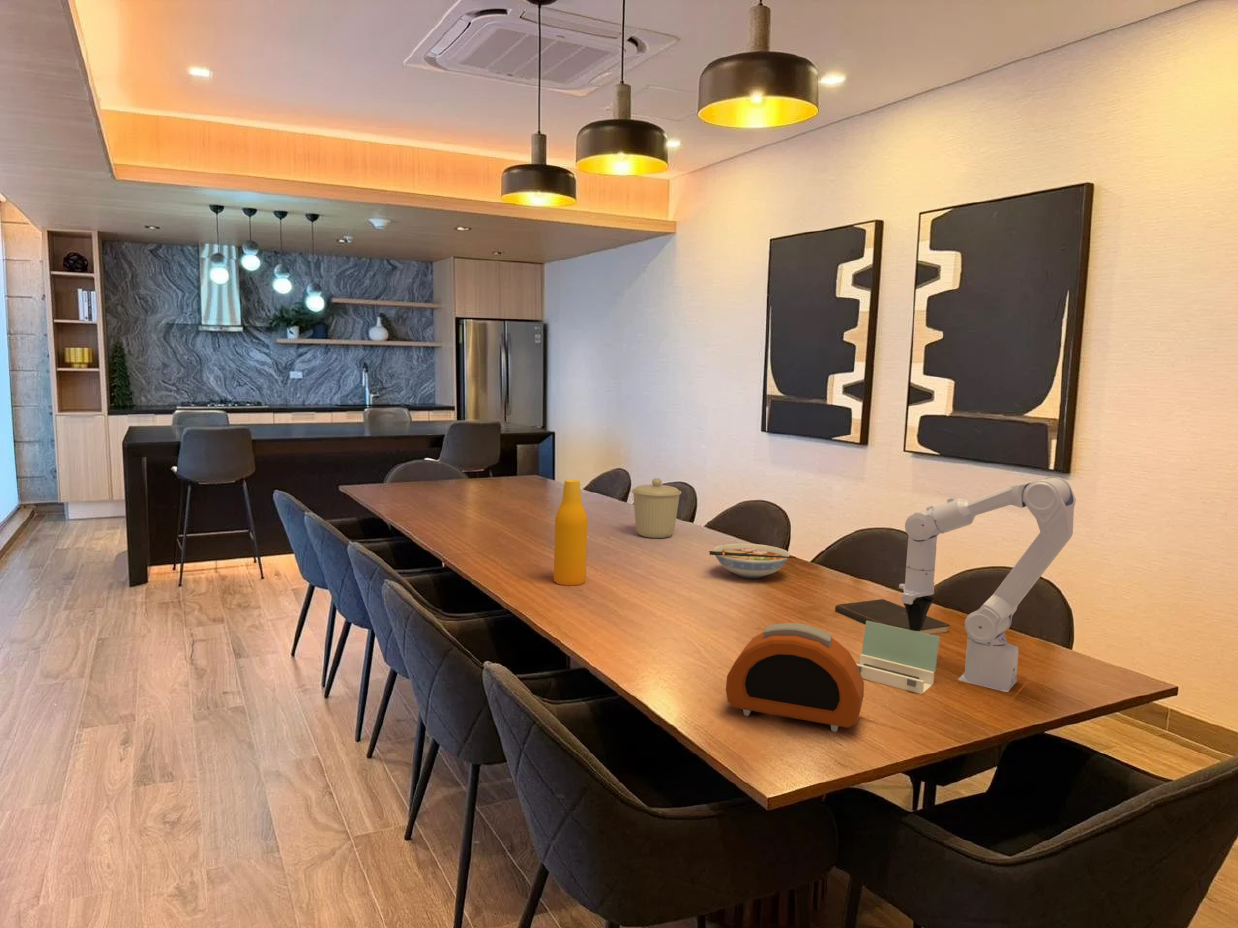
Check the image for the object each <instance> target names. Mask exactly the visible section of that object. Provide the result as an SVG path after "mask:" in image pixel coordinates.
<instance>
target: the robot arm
mask: <svg viewBox="0 0 1238 928" xmlns="http://www.w3.org/2000/svg"><path fill="white" fill-rule="evenodd" d="M946 501H947V502H944V503H942V504H939V505H936V506H933V505H930V506H927V507H925V509H926V510H923V511H918V512H917V511H916V512H914V513H913V514H911V515H909V516H908V517H907V519H906V520H905V521H904V522H905V523H904V530H905V533H906V534H907V535H908V539H907V548H906V549H907V550H906V551H907V552H906V562H905V563H906V564H905V565H906V566H905V580H904V581H905V582H904V583H899V585H898V589H902V590H903V593H902V594H901V595H902V596H901V603H902V604H903V605H904V606H903V607H905V608H906V611H907V615H908V621H909V627H910V630H915V631H921V630H922V627H923V624H924V621H925V618H926V616H928V612H929V610H930V608H931V606H932V604H933V603H934V601H935V597H933V595H934V594H935V573H936V572H935V571H936V558H937V557H936V556H937V543H938V542H937V540H938V537H939V535H940V534H945V533H949V532H952V531H954V530H958V529H961V528H964V527H966V526H969V525H972V523H973V522H974V520H975V517H976V516H979V515H982V514H985V513H989V512H992V511H995V510H997V509H1000V508H1004V507H1007V506H1014V507H1018V508H1020V509H1023V508H1026V507H1027V509H1028V510H1029V512H1030V513H1031V514H1032V515H1033V517H1034V518H1035V520H1036V523H1037V526H1038V529H1039V533H1038V535H1037V536H1036V537H1035V539H1034V540H1033V542H1031V544H1030V545H1029V546H1028V548H1027V549H1026V551H1025V552H1024V553H1023V555H1022V556H1021V557H1020V559H1018V561H1017V562H1016V563H1015V564H1014V566H1013V567H1012V568H1011V570H1010V571H1009V573H1008V574H1007V575H1006V576H1005V578H1004V579H1003V580H1002V582H1001V584H1000V585H999V586H998V587H997V588H996V590H995V591H994V593H992V595H991V596H989V598H987V600H986V601H985V602H984V603H982V605H981V606H980V608H978V609H977V610H975V611H973V612H971V613H969V614H968V615H967V616H966V617H965V621H964V629H965V632H966V634H967V637H966V639H967V641H966V652H965V664H964V665H965V666H964V673H963V674H962V675H960V677H958V678H957V680H958V681H960V682H964V683H968V684H973V685H976V686H981V687H984V688H988V689H992V690H995V691H1000V692H1004V693H1008V692H1009V691H1010V690H1011V689H1012V687H1014V685H1015V684H1016V683H1017V682H1018V681H1017V677H1018V676H1017V675H1018V667H1019V666H1018V665H1019V653H1020V651H1019V647H1018V646H1017V645H1015V644H1011V643H1009V642H1008V641H1007V640H1008V639H1007V636H1006V634H1005V632H1006V631H1007V630H1009V629H1010V627H1011V625H1012V618H1013V615H1014V614H1015V613H1016V611H1017V609H1018V606H1019V604H1020V603H1021V602H1022V600H1023V599H1024V598H1025V597H1026V595H1027V594H1028V593H1029V592H1030V590H1031V589H1032V588H1033V587H1034V585H1035V584H1036V583H1037V582H1038V580H1039V579H1040V577H1042V575H1043V574H1045V571H1046V570H1047V569H1048V568H1049V566H1050V565H1051V564H1052V563H1053V561H1054V560H1055V559H1056V557H1057V556H1058V555H1059V554H1060V552H1061V551H1062V549H1064V547H1065V546H1066V545H1067V543H1068V542H1069V541H1070V540H1071V539H1072V536H1073V534H1074V533H1073V532H1074V512H1075V505H1076V501H1077V500H1076V497H1075V494H1074V492H1073V489H1072V487H1071V485H1070V483H1069V482H1068V481H1067V480H1065V479H1064V478H1062V477H1059V476H1048V477H1045V478H1043V479H1042V480H1041V479H1040V480H1039V479H1037V480H1030V481H1026V482H1021V483H1017V484H1013V485H1010V486H1007V487H1004V488H1002V489H1000V490H996V491H993V492H991V493H989V494H986V495H983V496H981V497H978V498H975V499H973V500H970V501H969V500H967V499H965V498H962V497H959V498H956V497H955V496H953V497H949V498H947V499H946Z"/></svg>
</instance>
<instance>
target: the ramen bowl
mask: <svg viewBox="0 0 1238 928" xmlns="http://www.w3.org/2000/svg"><path fill="white" fill-rule="evenodd" d="M708 553H709V556H715V557H716V559H717V561H718V562H719V564H720V565H721V566H722V567H723V568H725V570H727V571H729V572H732V573H733V574H736V575H737V576H739V577H740V578H744V579H760V578H762V577H766V576H768V575H771V574H774V573H776V572H778V571H780V569H781V568H782V567H784V565H785V564H786V562H787V560H788V559H797V557H795V556H790V554H791V553H790V552H788V551H787V550H786V549H783V548H780V547H776V546H773V545H772V546H771V545H765V544H760V543H759V544H757V543H743V542H742V543H739V542H735V543H724V544H719V545H717V546H715V547H713V548H712V550H710V551H708Z"/></svg>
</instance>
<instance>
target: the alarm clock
mask: <svg viewBox="0 0 1238 928" xmlns="http://www.w3.org/2000/svg"><path fill="white" fill-rule="evenodd" d="M857 664H858V663H857V662H856V661H855V660H854V657H853V656H852V654H851V653H850V651H848V649H847V648H846V647H844V646H843V645H842V644H841V643H840V642H839V641H837V640H836V639H834V638H833V635H832V634H831V633H829V632H827V631H825V630H823V629H820V628H818V627H814V626H811V625H807V624H804V623H800V622H799V623H798V622H797V623H795V622H786V623H785V622H784V623H783V622H781V623H776V624H771V625H768V626H766V628H764V631H763V632H761V633H759V634H757V635H755V636H754V637H752V639H751V640H750V641H749V642H748V643H747V644H746V645H745V646H744V648H743V650H742V651H741V652H740V654H739V655H738V657H737V658H736V659H735V661H734V663H733V665H732V666H731V668H730V670H729V671H728V673H727V675H726V682H725V693H726V699H727V702H728V703H729V704H730V705H731V706H732V707H733V709H734V708H735V709H740V710H742V712H743V715H744V716H745V717H749V716H750V714H751V712H758V713H761V714H767V715H773V716H779V717H785V718H789V719H790V718H791V719H796V720H803V721H808V722H814V723H819V724H824V725H829V726H830V729H831V732H835V733H837V731H838V728H839V727H840V728H841V727H842V728H847V729H848V728H850V727H852V726H854V725H857V723H858V719H859V717H860V714H861V708H862V705H863V701H864V693H865V691H864V690H865V689H864V688H865V681H864V679H862V676H861V674H860V671H859V669H858V666H857Z"/></svg>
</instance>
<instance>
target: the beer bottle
mask: <svg viewBox="0 0 1238 928" xmlns="http://www.w3.org/2000/svg"><path fill="white" fill-rule="evenodd" d="M587 547H588V516H587V513H586V509H585V508H584V506H583V503H582V494H581V483H580V480H579V479H566V480H564V483H563V491H562V499H561V503H560V505H559V507H558V509H557V512H556V514H555V519H554V548H553V549H554V552H553V553H554V554H553V555H554V557H553V558H554V559H553V561H554V562H553V580H554V582H556V584H557V585H560V586H567V587H572V586H573V587H574V586H580V585H583V584H585V582H586V580H587V556H588V555H587V549H588V548H587Z"/></svg>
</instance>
